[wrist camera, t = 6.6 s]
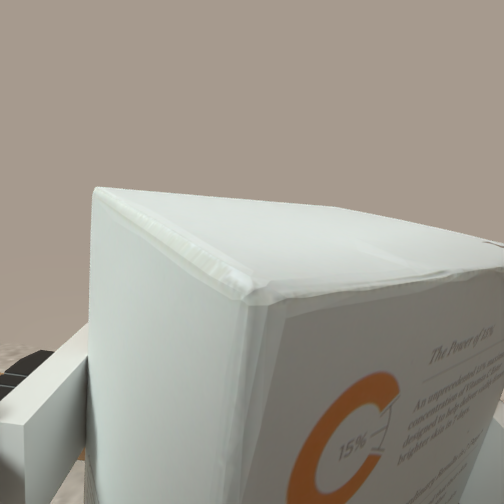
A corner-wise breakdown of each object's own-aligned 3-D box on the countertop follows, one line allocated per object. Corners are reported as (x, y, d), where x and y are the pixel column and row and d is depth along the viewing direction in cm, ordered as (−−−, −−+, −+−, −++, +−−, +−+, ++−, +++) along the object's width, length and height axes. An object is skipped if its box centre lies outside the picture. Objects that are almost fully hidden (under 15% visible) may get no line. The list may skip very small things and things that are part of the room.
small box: (274, 487, 15) (335, 204, 12) (404, 661, 10) (567, 254, 7) (74, 605, 10) (86, 178, 7) (135, 1052, 5) (270, 288, 2)
